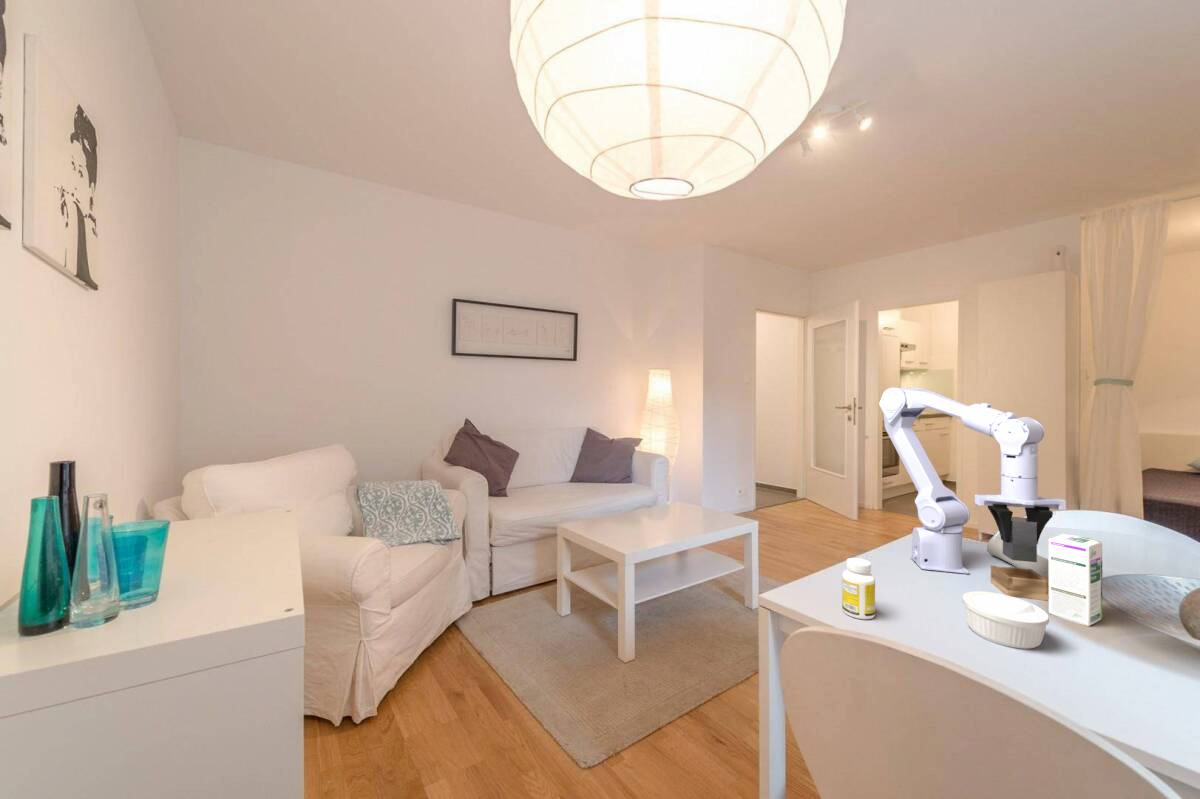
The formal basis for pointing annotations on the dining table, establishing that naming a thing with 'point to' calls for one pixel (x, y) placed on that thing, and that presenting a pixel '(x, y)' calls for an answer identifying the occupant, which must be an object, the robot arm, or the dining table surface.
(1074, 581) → the syrup box
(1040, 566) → the tube
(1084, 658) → the dining table surface
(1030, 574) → the oak dock
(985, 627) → the ramekin
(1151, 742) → the dining table surface
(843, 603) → the supplement bottle
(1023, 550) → the matte charcoal brick
